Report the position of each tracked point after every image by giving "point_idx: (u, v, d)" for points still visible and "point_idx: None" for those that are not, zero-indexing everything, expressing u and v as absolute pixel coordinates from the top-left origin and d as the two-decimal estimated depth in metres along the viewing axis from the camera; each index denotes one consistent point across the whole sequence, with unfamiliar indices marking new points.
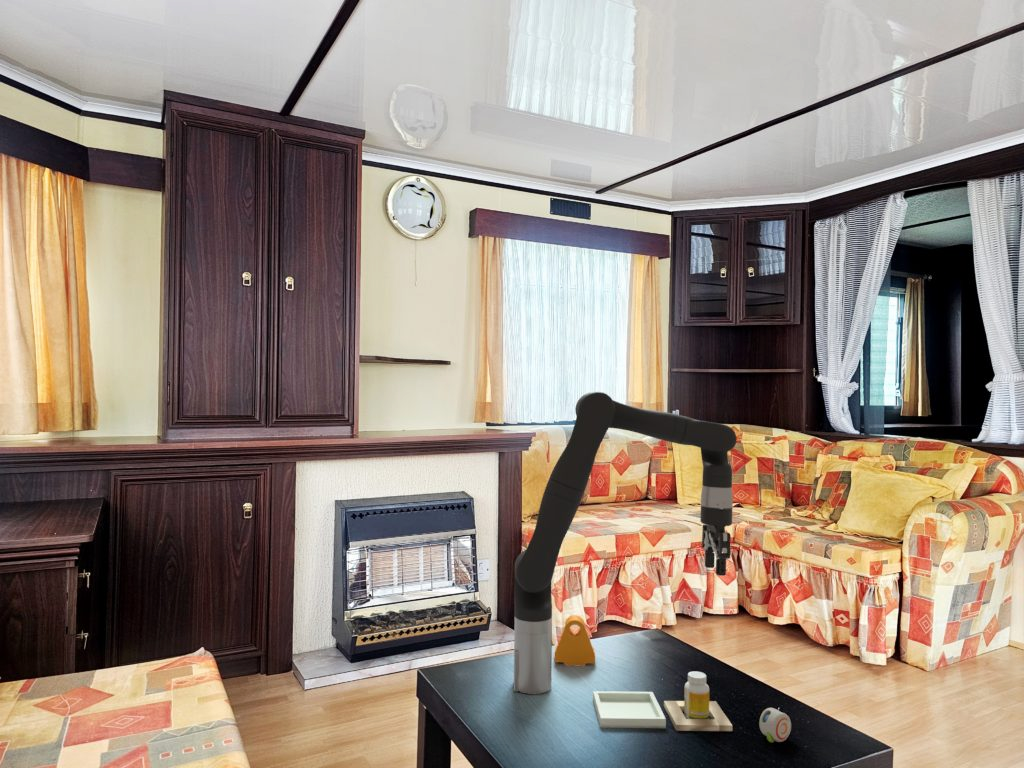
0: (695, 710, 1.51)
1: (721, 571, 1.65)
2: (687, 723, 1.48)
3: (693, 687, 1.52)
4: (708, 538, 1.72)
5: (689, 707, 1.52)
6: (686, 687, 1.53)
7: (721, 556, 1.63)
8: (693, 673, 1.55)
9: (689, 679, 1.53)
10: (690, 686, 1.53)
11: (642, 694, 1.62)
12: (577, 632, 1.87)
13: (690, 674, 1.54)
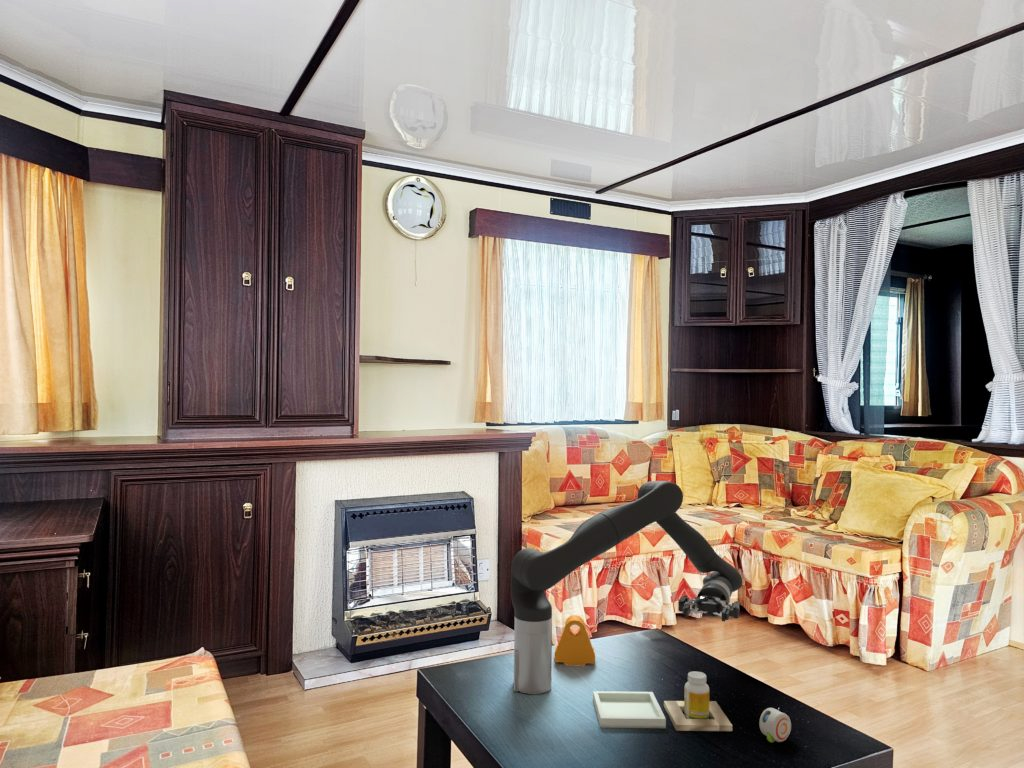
0: (695, 710, 1.51)
1: (728, 615, 1.63)
2: (687, 723, 1.48)
3: (693, 687, 1.52)
4: (703, 600, 1.72)
5: (689, 707, 1.52)
6: (686, 687, 1.53)
7: (738, 609, 1.66)
8: (693, 673, 1.55)
9: (689, 679, 1.53)
10: (690, 686, 1.53)
11: (642, 694, 1.62)
12: (577, 632, 1.87)
13: (690, 674, 1.54)
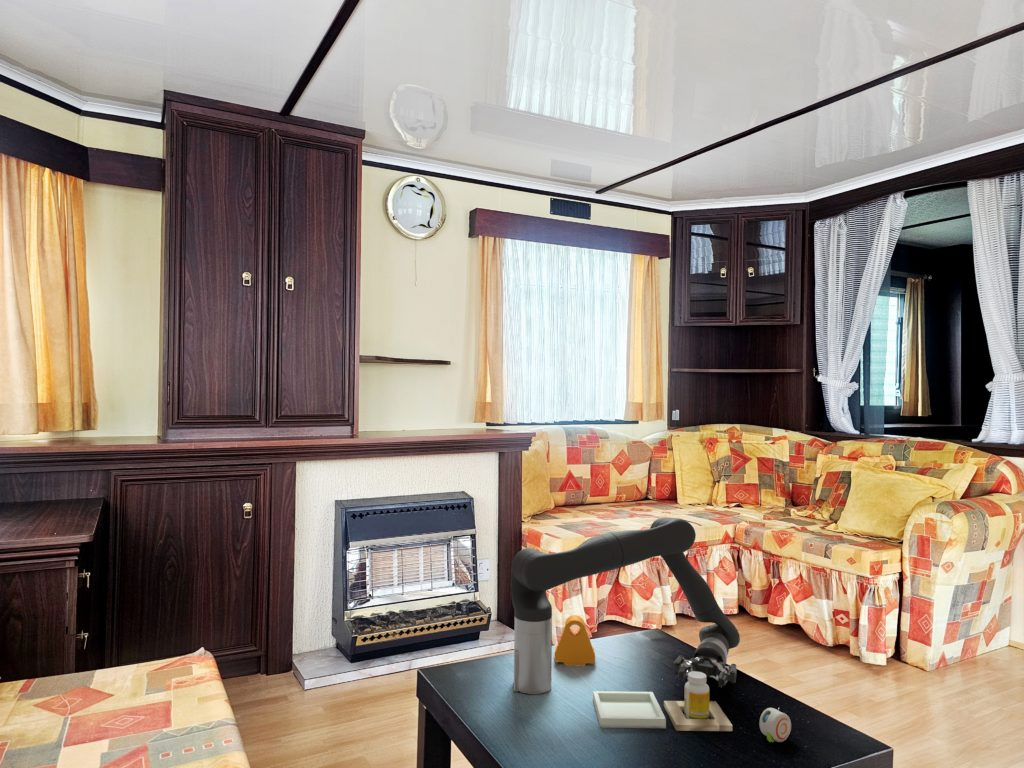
0: (695, 710, 1.51)
1: (725, 681, 1.59)
2: (687, 723, 1.48)
3: (693, 687, 1.52)
4: (699, 661, 1.67)
5: (689, 707, 1.52)
6: (686, 687, 1.53)
7: (735, 673, 1.61)
8: (693, 673, 1.55)
9: (689, 679, 1.53)
10: (690, 686, 1.53)
11: (642, 694, 1.62)
12: (577, 632, 1.87)
13: (690, 674, 1.54)
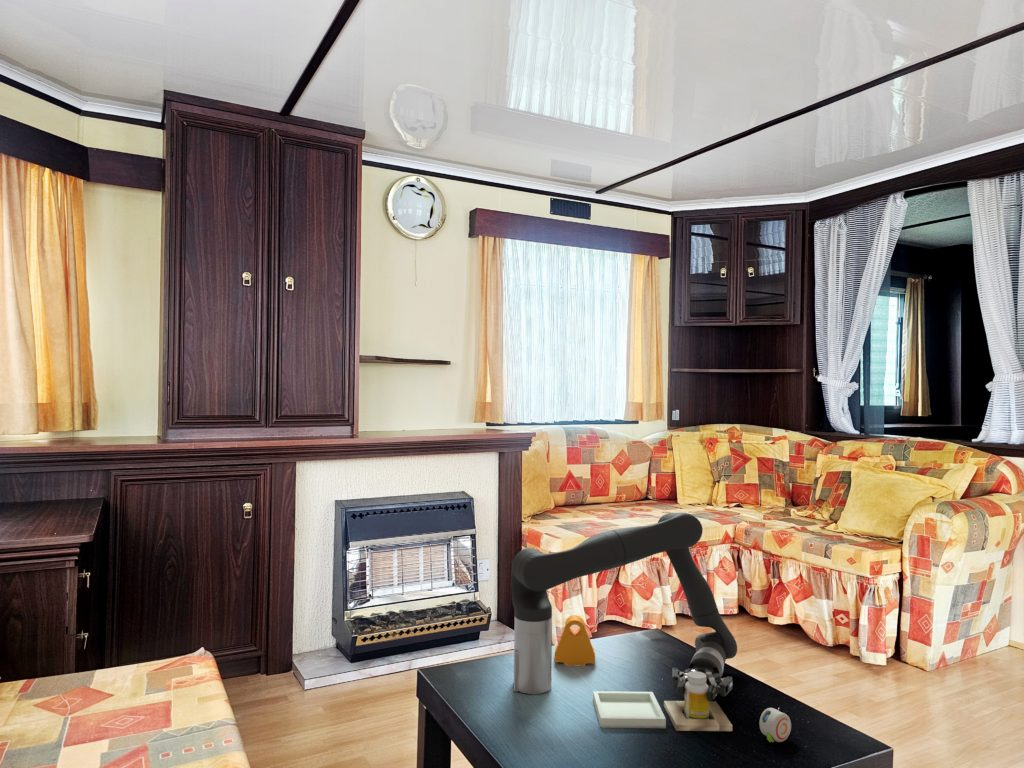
0: (695, 710, 1.51)
1: (714, 694, 1.51)
2: (687, 723, 1.48)
3: (693, 687, 1.52)
4: None
5: (689, 707, 1.52)
6: (686, 687, 1.53)
7: (725, 686, 1.54)
8: (693, 673, 1.55)
9: (689, 679, 1.53)
10: (690, 686, 1.53)
11: (642, 694, 1.62)
12: (577, 632, 1.87)
13: (690, 674, 1.54)
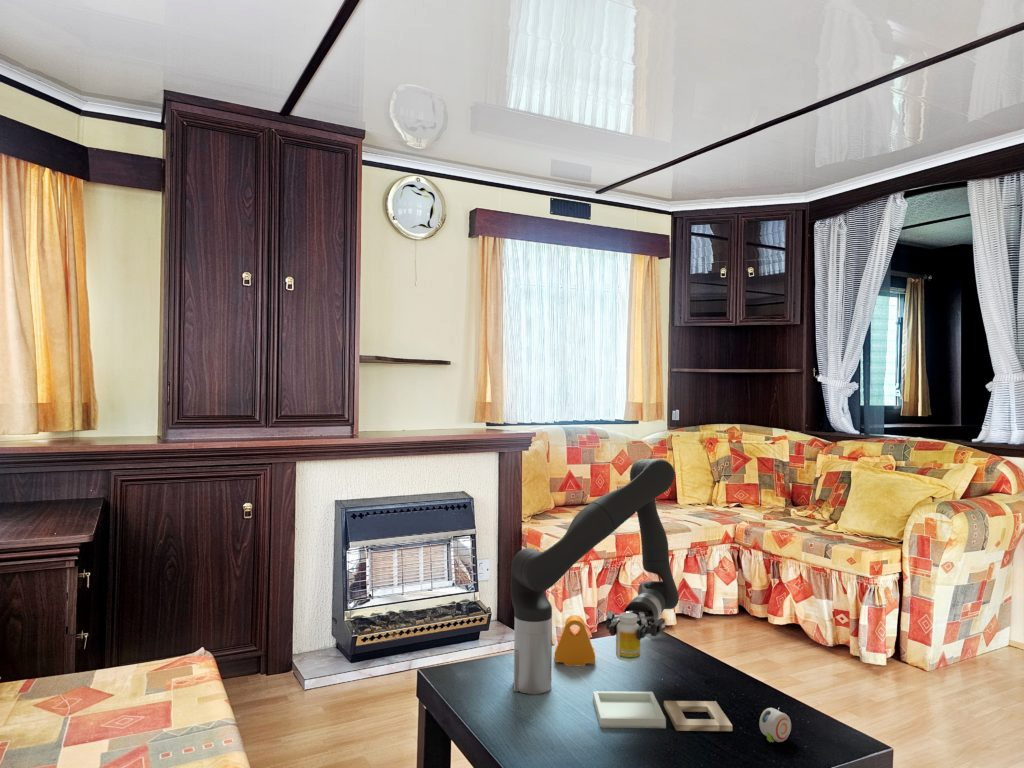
0: (625, 649, 1.54)
1: (644, 633, 1.53)
2: (687, 723, 1.48)
3: (624, 627, 1.54)
4: None
5: (619, 646, 1.54)
6: (617, 627, 1.56)
7: (656, 626, 1.56)
8: (625, 614, 1.57)
9: (620, 619, 1.55)
10: (621, 626, 1.55)
11: (642, 694, 1.62)
12: (577, 632, 1.87)
13: (621, 614, 1.56)
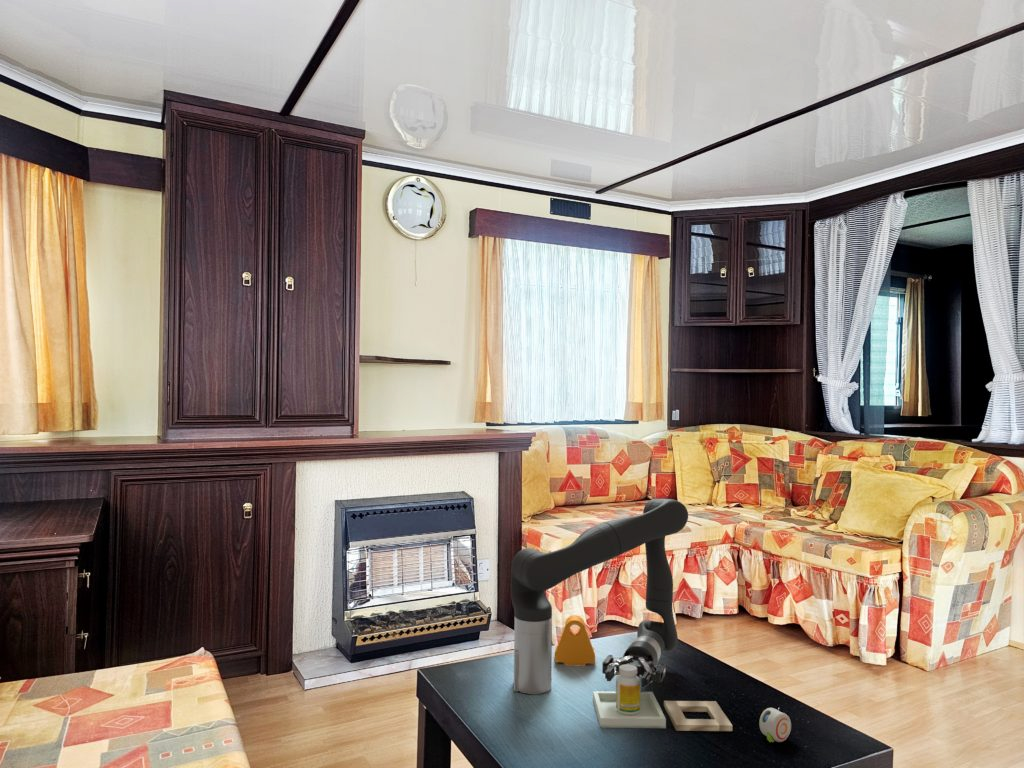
0: (625, 703, 1.54)
1: (648, 681, 1.53)
2: (687, 723, 1.48)
3: (624, 680, 1.54)
4: (628, 661, 1.62)
5: (619, 699, 1.54)
6: (617, 680, 1.56)
7: (660, 673, 1.56)
8: (624, 666, 1.57)
9: (620, 672, 1.55)
10: (620, 679, 1.55)
11: (642, 694, 1.62)
12: (577, 632, 1.87)
13: (621, 667, 1.56)
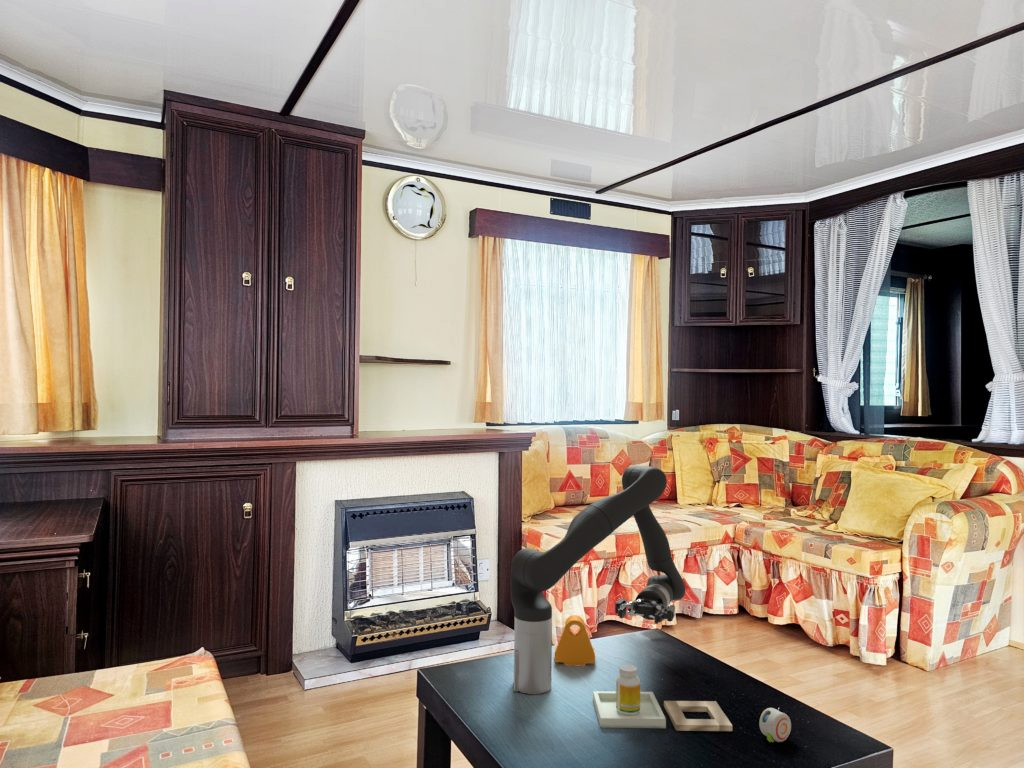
0: (625, 703, 1.53)
1: (661, 618, 1.65)
2: (687, 723, 1.48)
3: (624, 680, 1.54)
4: (639, 602, 1.74)
5: (619, 699, 1.54)
6: (617, 680, 1.55)
7: (671, 612, 1.68)
8: (625, 666, 1.57)
9: (620, 672, 1.55)
10: (621, 679, 1.55)
11: (642, 694, 1.62)
12: (577, 632, 1.87)
13: (622, 667, 1.56)
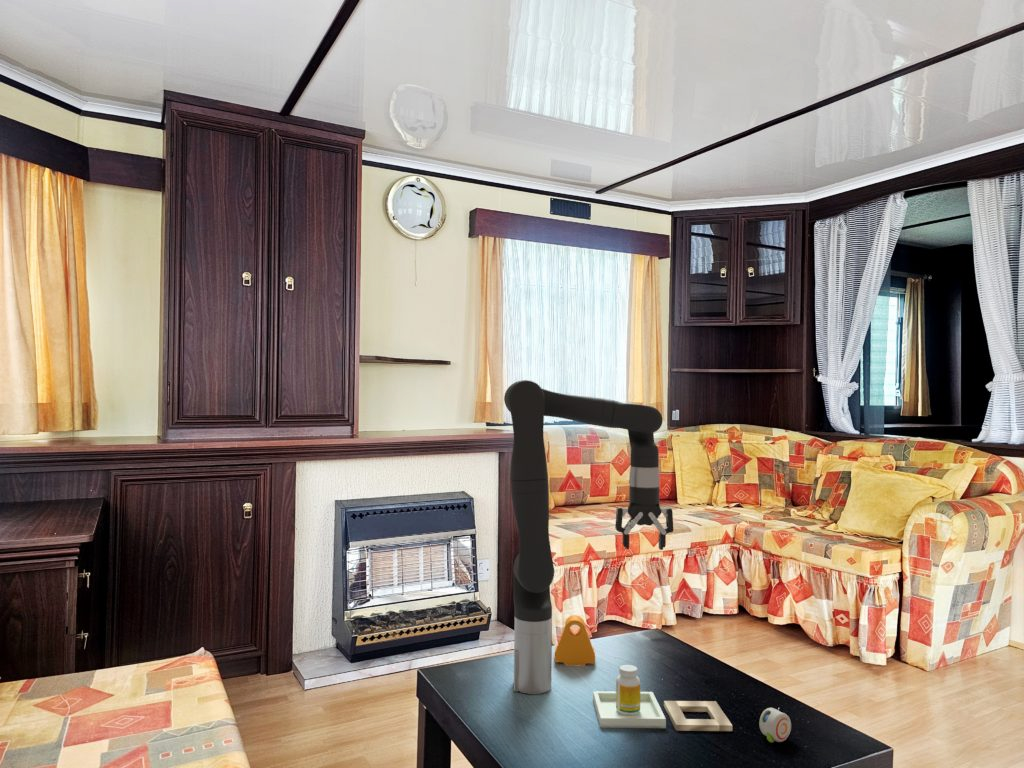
0: (625, 703, 1.53)
1: None
2: (687, 723, 1.48)
3: (624, 680, 1.54)
4: None
5: (619, 700, 1.54)
6: (617, 680, 1.55)
7: None
8: (625, 666, 1.57)
9: (620, 672, 1.55)
10: (621, 679, 1.55)
11: (642, 694, 1.62)
12: (577, 632, 1.87)
13: (622, 667, 1.56)
